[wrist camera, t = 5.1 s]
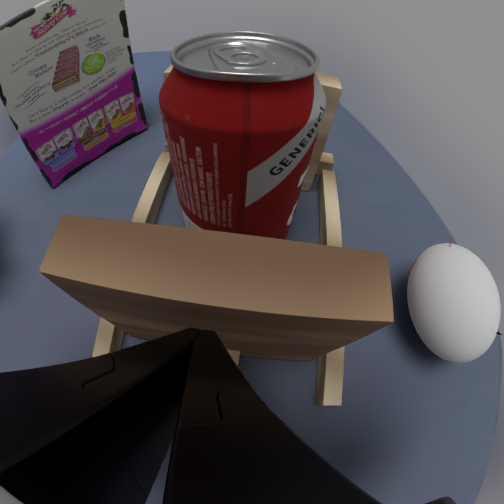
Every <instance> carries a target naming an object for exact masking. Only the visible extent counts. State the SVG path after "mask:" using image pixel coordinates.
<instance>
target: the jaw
mask: <svg viewBox="0 0 504 504" xmlns="http://www.w3.org/2000/svg"><path fill="white" fill-rule="evenodd" d="M39 272H40V273H42V274H43V275H44V276H45V277H47V278H48V279H49V280H50V281H52V282H53V283H54V284H55V285H57V286H58V287H59V288H61V289H62V290H63V291H65V292H66V293H67V294H69V295H70V296H71V297H73V298H74V299H76V300H77V301H78V302H80V303H81V304H83V305H84V306H86V307H87V308H88V309H90V310H91V311H93V312H94V313H96V314H97V315H99V316H100V317H102V318H104V319H105V320H107V321H108V322H110V323H111V324H113V325H115V326H116V327H118V328H119V329H121V330H123V331H124V332H126V333H128V334H129V335H131V336H133V337H138V338H142V339H146V340H154V339H157V338H160V337H163V336H166V335H169V334H172V333H175V332H178V331H181V330H184V329H186V328H189V327H192V328H198V329H201V330H202V331H203V330H211V331H215V332H216V333H217V335H218V336H219V338H220V340H221V341H222V343H223V345H224V346H225V348H226V349H227V351H228V353H229V354H230V356H231V357H232V359H233V361H234V362H235V364H236V365H237V367H238V364H239V355H241V356H249V357H259V358H269V359H281V360H294V361H310V360H312V359H315V358H317V357H320V356H322V355H324V354H327V353H329V352H332V351H334V350H336V349H338V348H341V347H343V346H345V345H347V344H350V343H352V342H354V341H356V340H358V339H360V338H362V337H365V336H367V335H369V334H371V333H373V332H375V331H377V330H379V329H381V328H383V327H385V326H387V325H388V324H390V323H392V322H394V315H393V301H392V290H391V280H390V271H389V263H388V255H387V254H385V253H378V252H372V251H365V250H358V249H351V248H343V247H336V246H329V245H322V244H314V243H307V242H299V241H292V240H284V239H276V238H268V237H260V236H252V235H244V234H236V233H228V232H220V231H211V230H202V229H194V228H185V227H176V226H167V225H158V224H149V223H139V222H130V221H120V220H110V219H100V218H89V217H79V216H68V215H62V217H61V219H60V221H59V223H58V225H57V228H56V230H55V232H54V234H53V237H52V239H51V241H50V244H49V246H48V248H47V251H46V253H45V256H44V259H43V261H42V264H41V266H40V269H39Z"/></svg>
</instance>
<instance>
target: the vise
mask: <svg viewBox="0 0 504 504" xmlns="http://www.w3.org/2000/svg"><path fill="white" fill-rule="evenodd" d="M173 67H174V66H173V65H172V64H171V65H170V66H169V67H168V69H167V70H166V71H165V72H164V78H165V80H166V78H167V77H168V75H169V73H170V72H171V70H172V68H173ZM315 73H316V75H317V77H318V79H319V81H320V83H321V86H322V88H323V90H324V93H325V96H326V108H325V112H324V115H323V119H322V122H321V126H320V129H319V133H318V136H317V140H316V143H315V146H314V150H313V153H312V156H311V160H310V163H309V166H308V170H307V173H306V176H305V179H304V183H303V186H302V189H301V190H305V191H310V188H311V185H312V182H313V179H314V176H315V174H317V175H320V177H319V180H318V198H319V220H320V244H322V245H329V246H336V247H342V237H341V224H340V213H339V203H338V194H337V185H336V177H335V172H334V171H331V169H332V167H333V164H334V162H333V155H332V154H330V153H325V152H323V150H324V147H325V143H326V140H327V137H328V134H329V131H330V128H331V125H332V122H333V119H334V115H335V112H336V109H337V106H338V103H339V99H340V96H341V93H342V90H343V89H342V87H341V84H340V81H339V79H338V76H335V75H332V74H327V73H322V72H317V71H316V72H315ZM165 148H166V152H161V154H160V156H159V158H158V160H157V162H156V164H155V166H154V169H153V171H152V173H151V175H150V177H149V180H148V182H147V184H146V186H145V189H144V191H143V193H142V196H141V198H140V200H139V203H138V205H137V208H136V210H135V213H134V215H133V218H132V221H131V222H139V223H149V224H154V223H155V220H156V217H157V215H158V212H159V209H160V206H161V203H162V201H163V198H164V195H165V193H166V190H167V187H168V185H169V182H170V179H171V177H172V174H173V171H172V166H171V161H170V156H169V151H168V146H167V142H166V144H165ZM123 335H124V331H123V330H121V329H119V328H118V327H116V326H115V325H113V324H111V323H110V322H108V321H107V320H105V319H104V318H102V317H101V319H100V323H99V327H98V331H97V336H96V340H95V345H94V350H93V355H92V357H96V356H100V355H103V354H107V353H112V352H115V351H119V350H121V345H122V340H123ZM343 370H344V346H343V347H341V348H338V349H336V350H334V351H332V352H329V353H327V354H324V355H322V356H320V357H318V372H317V386H316V398H315V404H316V405H322V406H332V405H341V402H342V388H343Z"/></svg>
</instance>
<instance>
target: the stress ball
mask: <svg viewBox="0 0 504 504" xmlns="http://www.w3.org/2000/svg"><path fill="white" fill-rule="evenodd" d="M407 301H408V307H409V312H410V316H411V319H412V322H413V325H414V327H415V329H416V331H417V333H418V335H419V336H420V338H421V339H422V341H423V342H424V344H425V345H426V346H427V347H428V348H429V349H430V350H431V351H432V352H433V353H434V354H436V355H437V356H439V357H440V358H442V359H444V360H446V361H449V362H454V363H465V362H470V361H472V360H475V359H477V358H478V357H480V356H481V355H482V354H484V353H485V352H486V351H487V349H488V348H489V347H490V345H491V344H492V342H493V341H494V339H495V336H496V334H500V333H498V332H497V331H498V327H499V322H500V311H501V310H500V298H499V293H498V290H497V286H496V284H495V282H494V279H493V277H492V275H491V273H490V272H489V270H488V268H487V267H486V266H485V264H484V263H483V262H482V261H481V260H480V259H479V258H478V257H477V256H476V255H475V254H474V253H472V252H471V251H469V250H468V249H466V248H464V247H461V246H459V245H455V244H451V239H450V244H449V243H443V244H437V245H434V246H431V247H429V248H428V249H426V250H425V251H424V252H422V253H421V254H420V255H419V257H418V258H417V259H416V261H415V263H414V264H413V266H412V269H411V271H410V275H409V279H408V285H407ZM500 335H501V334H500Z"/></svg>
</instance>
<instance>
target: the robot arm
mask: <svg viewBox="0 0 504 504" xmlns="http://www.w3.org/2000/svg"><path fill="white" fill-rule="evenodd" d="M173 436H174V438H173ZM172 439H173V444H172V449H171V455H170V461H169V466H168V472H167V478H166V485H165V491H164V497H163V504H381V503H380V502H378V501H377V500H376V499H374V498H373V497H371V496H370V495H369V494H367V493H366V492H365V491H363V490H362V489H361V488H359V487H358V486H357V485H355V484H354V483H353V482H351V481H350V480H349V479H347V478H346V477H345V476H344V475H342V474H341V473H340V472H339V471H337V470H336V469H335V468H334V467H333V466H331V465H330V464H329V463H328V462H327V461H325V460H324V459H323V458H322V457H321V456H320V455H318V454H317V453H316V452H315V451H314V450H313V449H312V448H310V447H309V446H308V445H307V444H306V443H305V442H304V441H303V440H302V439H300V438H299V437H298V436H297V435H296V434H295V433H294V432H293V431H292V430H291V429H290V428H289V427H288V426H287V425H286V424H284V423H283V422H282V421H281V420H280V419H279V418H278V417H277V416H276V415H275V414H274V413H273V412H272V411H271V410H270V409H269V408H268V407H267V406H266V404H265V403H264V402H263V401H262V400H261V399H260V398H259V397H258V395H257V394H256V393H255V391H254V390H253V389H252V387H251V386H250V384H249V383H248V381H247V380H246V379H245V378H244V376H243V374H242V373H241V371H240V370H239V368H238V367H237V365H236V364H235V362H234V361H233V359H232V357H231V356H230V354H229V353H228V351H227V349H226V348H225V346H224V345H223V343H222V341H221V340H220V338H219V336H218V335H217V333H216V332H215V331H211V330H203V331H202V330H201V329H198V328H192V327H189V328H186V329H184V330H181V331H178V332H175V333H172V334H169V335H166V336H163V337H160V338H157V339H154V340H151V341H147V342H144V343H141V344H138V345H135V346H132V347H128V348H125V349H122V350H119V351H115V352H112V353H107V354H103V355H100V356H96V357H92V358H88V359H85V360H80V361H75V362H70V363H64V364H59V365H53V366H47V367H40V368H33V369H26V370H19V371H11V372H2V373H0V504H145V503H146V500H147V498H148V495H149V493H150V491H151V488H152V486H153V484H154V481H155V479H156V477H157V474H158V472H159V469H160V467H161V465H162V462H163V460H164V458H165V455H166V453H167V451H168V448H169V446H170V443H171V441H172ZM426 504H456V503H455V502H454V501H453V500H452V498H450V497H443V498H439V499H436V500H434V501H431V502H428V503H426Z"/></svg>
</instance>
